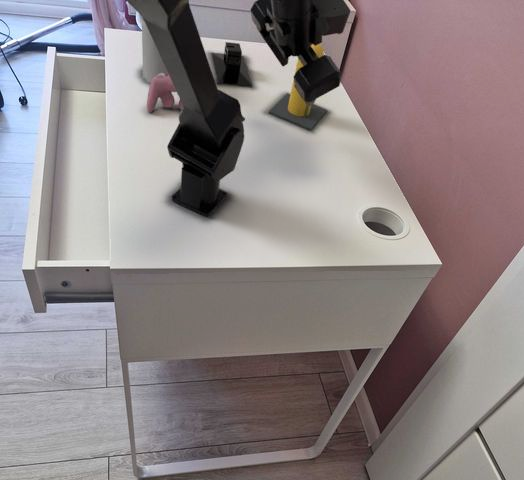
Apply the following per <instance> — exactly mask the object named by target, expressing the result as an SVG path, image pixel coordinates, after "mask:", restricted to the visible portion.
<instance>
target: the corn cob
mask: <svg viewBox="0 0 524 480" xmlns="http://www.w3.org/2000/svg"><path fill="white" fill-rule="evenodd" d="M311 47H312V48H313V50H314V51H315V53H316V54H317V56H318V57H319V58H320V57H321V56H323V55H325V52H324V48H323V46H322V45H321V43H320V44H318V45H316V46H314V44H312V45H311ZM301 67H303V64H302V63H301V61H300V60H299V58H298V57H297V62H296V67H295V71H294V74H295V73H296V72H297V71H298V69H299V68H301ZM291 85H292V86H291V91H290V99H289V104H288V111H289V112H290V113H291V114H293V115H296V116H300V117H307V116H308V115H309V113H310V109H311V105H310V106H308V105H307V104H306V103H305V101H304V100H303V99H302V98H301V96H300V95H299V93H298V92H297V90H296V88H295V87H294V85H295V83H294V79H293V82H292V84H291Z"/></svg>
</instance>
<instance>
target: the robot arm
mask: <svg viewBox="0 0 524 480" xmlns="http://www.w3.org/2000/svg"><path fill="white" fill-rule="evenodd" d="M125 1H126V2H127V3H128V4H129V5H130V6H131V7H132V8H133V9H134V10H135V11H136V12H137V13H138V14H139V15H140V17H141V19H142V18H143V19H144V21H145V24H146V26H147V28H148V30H149V32H150V35H151V37H152V39H153V41H154V43H155V46H156V48H157V50H158V52H159V54H160V56H161V59H162V61H163V63H164V65H165V67H166V70H167V72H168V74H169V76H170V78H171V81H172V83H173V85H174V87H175V89H176V91H177V92H176V94H177V96H178V98H179V100H181V102H182V105H183V108H182V110H181V109H180V112H179V114H178V122H179V123H178V124H177V127H176V129H175V130H174V133H173V134H172V136H171V138H170V140H169V142H168V144H167V147H166V148H167V151H168V152H167V153H168V155H169V157H170V158H172V159H175V160H177V161H179V162H180V163H182V164H181V174H180V175H181V176H180V177H181V178H180V188H179V189H178V190H177V191H175V193H174V194H172V195H171V201H172V202H174V203H175V204H178V205H180V206H183V207H185V208H187V209H189V210H191V211H194V212H196V213H197V214H200V215H201V216H204V217H209V216H210V215H211V214H212V213H213V212H214V211H215V210H216V209H217V208H218V207H219V206H220V204H221V203H222V202H223V201H224V200H225V199H226V198H227V197H228V192H226V191H225V190H222V189H220V185H221V180H222V179H224V178H225V177H227V176H228V175H229V174H231V173H232V172H233V171H235V168H236V166H237V162H238V161H239V157H240V154H241V150H242V148H243V145H244V141H245V128H244V123H243V122H245V121H246V118H245V117H244V116H243V114H242V108H241V104H240V101H239V100H238V99H237V98H235V97H233V96H232V95H230V94H228V93H226V92H225V91H222V90H221V89H218V85H217V82H216V80H215V77H214V74H213V70H212V68H211V64H210V62H209V60H208V56H207V53H206V50H205V47H204V44H203V42H202V38H201V35H200V32H199V30H198V27H197V24H196V23H197V22H196V21H195V18H194V15H193V11H192V9H191V5H190V0H125ZM350 14H351V8H350V7H349V5H348V4H347V3H346V1H345V0H256V1H254V2H253V4H252V6H251V8H250V15H251V20H252V22H253V24H254V25H255V27H256V30H257V31H258V33H259V34H260V36H261V37H262V39H263V40H264V42H265V44H266V45H267V46H268V48H269V49H270V51H271V52H272V53H273V55H274V56H275V58H276V60H277V61H278V63H279V64H280V65H281V66H282V67H286V66H287V65H288V63H289V59H290V57H297V59H298V58H299V60H300V61H301V63H302V64H303V67H301V68H299V69H298V71H297V72H296V73H295V72H294V75H293V80H294V83H295V85H294V87H295V88H296V90H297V92H298V93H299V95H300V96H301V98H302V99H303V100H304V101H305V103H306V104H307V105H308V106H310V105H312V104H314V105H315V102H316V101H317V99H319V98H320V97H322V96H324V95H326V94H328V93H329V92H331V91H334V90H335V89H337V88H339V87H340V85H341V83H342V72H341V71H340V69H339V67H338V66H337V65H336V63H335V62H334V60H333V59H332V57H331V56H329V55H327V54H324V55H323V56H321V57H320V58H319V57H318V56H317V54H316V53H315V51H314V50H313V48H312V47H311V45H312V44H314V46H316V45H318V44H320V45H321V44H322V43H323V37H327V36H330V35H336V34H337V35H341V34H343V33H344V32H345V31H344V30H345V28H346V26H347V22H348V20H349V17H350Z"/></svg>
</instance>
